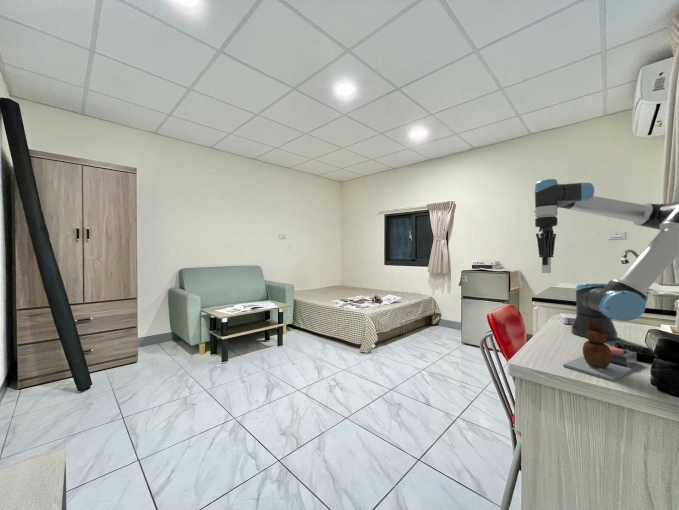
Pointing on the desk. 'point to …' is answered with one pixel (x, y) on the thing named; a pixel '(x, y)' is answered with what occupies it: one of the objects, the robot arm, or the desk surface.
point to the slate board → (598, 369)
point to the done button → (616, 350)
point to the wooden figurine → (596, 347)
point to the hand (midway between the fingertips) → (546, 272)
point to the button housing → (624, 358)
